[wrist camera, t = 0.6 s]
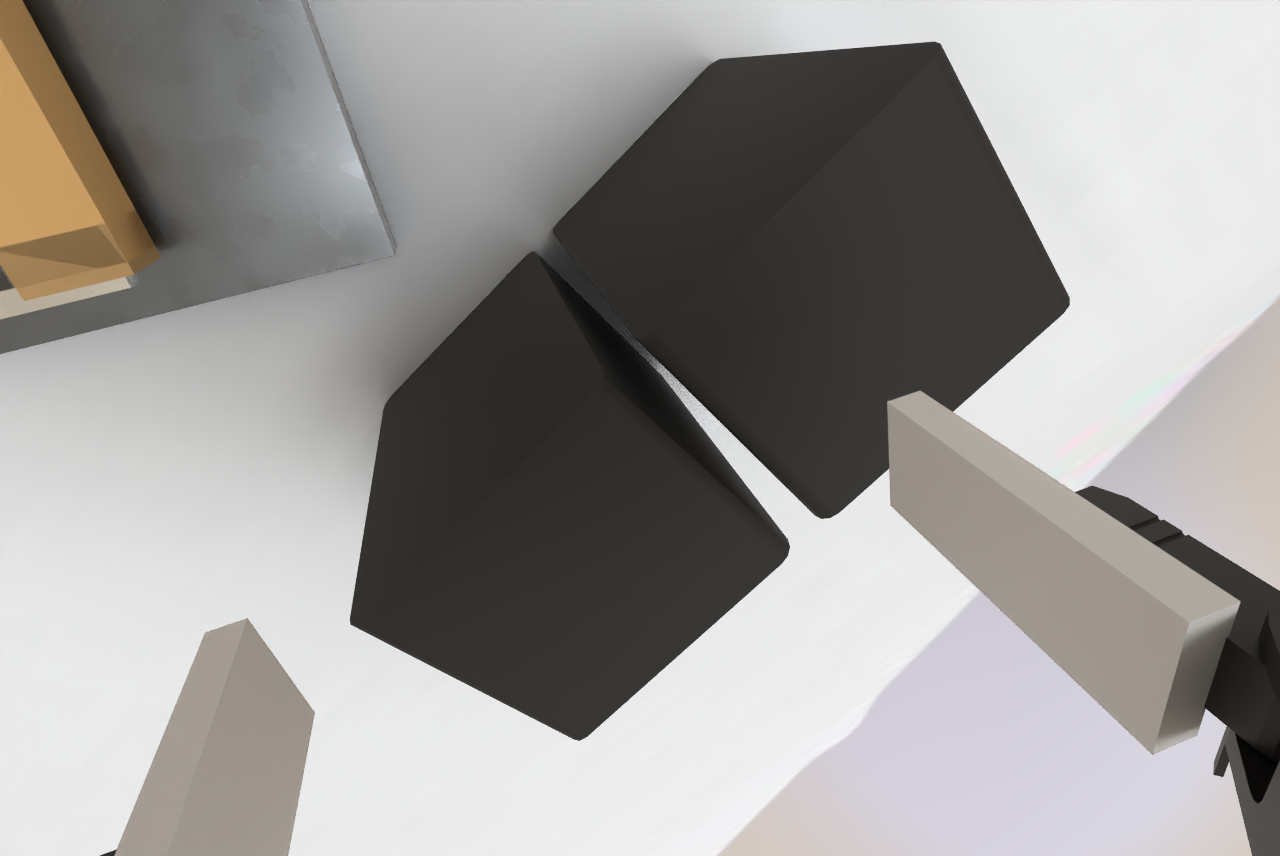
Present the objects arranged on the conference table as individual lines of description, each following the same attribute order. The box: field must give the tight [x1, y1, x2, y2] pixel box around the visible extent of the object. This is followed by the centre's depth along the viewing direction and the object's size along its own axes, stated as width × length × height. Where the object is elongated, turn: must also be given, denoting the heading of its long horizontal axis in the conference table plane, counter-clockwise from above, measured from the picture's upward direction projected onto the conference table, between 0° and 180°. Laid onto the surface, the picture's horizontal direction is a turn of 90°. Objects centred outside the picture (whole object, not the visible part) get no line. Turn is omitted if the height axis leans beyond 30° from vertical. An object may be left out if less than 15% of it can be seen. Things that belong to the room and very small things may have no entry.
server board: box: [0, 0, 396, 354], centre depth 26 cm, size 24×20×3 cm
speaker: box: [350, 42, 1070, 741], centre depth 31 cm, size 25×11×19 cm, turn 133°
